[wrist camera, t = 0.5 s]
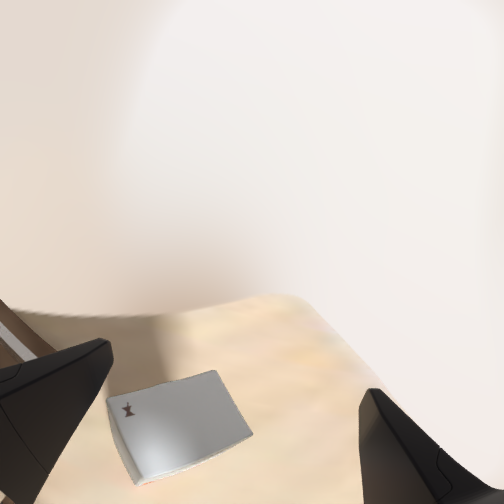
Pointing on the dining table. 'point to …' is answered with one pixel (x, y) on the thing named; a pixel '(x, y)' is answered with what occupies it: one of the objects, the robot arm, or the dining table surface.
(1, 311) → the square wooden tray
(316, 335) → the dining table surface
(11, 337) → the light gray square frame
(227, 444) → the skincare box
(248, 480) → the dining table surface
